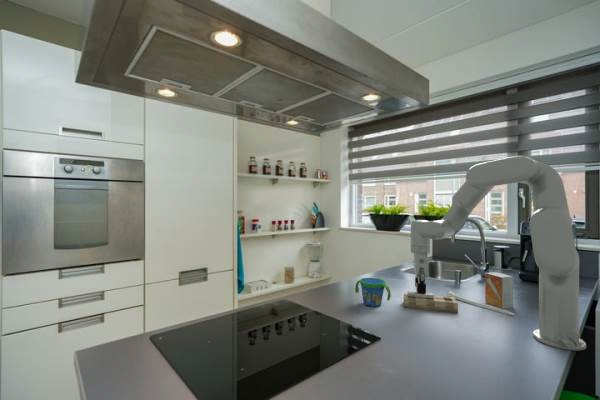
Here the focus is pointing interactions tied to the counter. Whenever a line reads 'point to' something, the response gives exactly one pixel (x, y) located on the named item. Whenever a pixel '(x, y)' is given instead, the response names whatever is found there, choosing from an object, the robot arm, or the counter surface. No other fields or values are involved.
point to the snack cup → (372, 291)
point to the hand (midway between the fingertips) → (420, 290)
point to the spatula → (478, 304)
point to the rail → (432, 303)
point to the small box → (499, 289)
